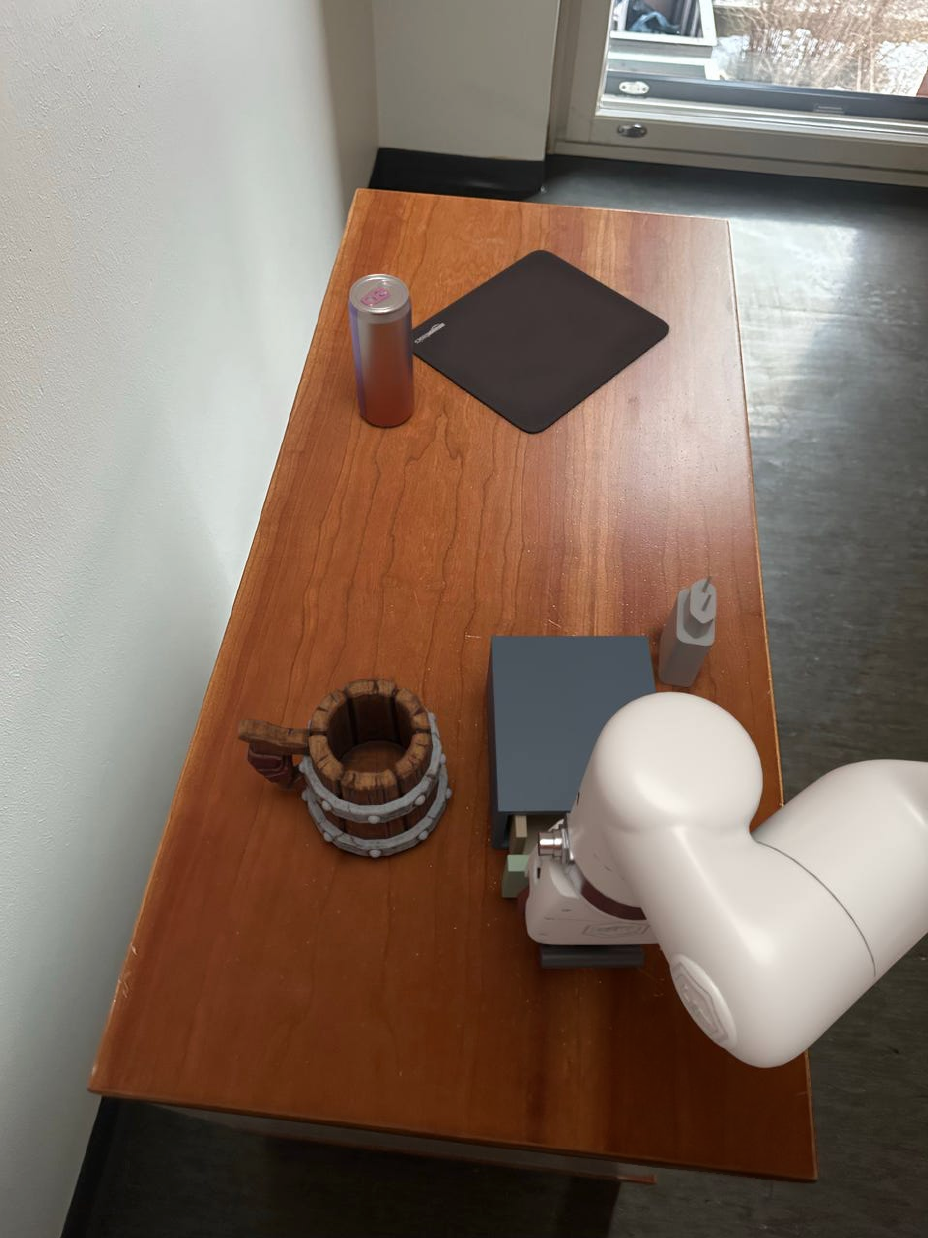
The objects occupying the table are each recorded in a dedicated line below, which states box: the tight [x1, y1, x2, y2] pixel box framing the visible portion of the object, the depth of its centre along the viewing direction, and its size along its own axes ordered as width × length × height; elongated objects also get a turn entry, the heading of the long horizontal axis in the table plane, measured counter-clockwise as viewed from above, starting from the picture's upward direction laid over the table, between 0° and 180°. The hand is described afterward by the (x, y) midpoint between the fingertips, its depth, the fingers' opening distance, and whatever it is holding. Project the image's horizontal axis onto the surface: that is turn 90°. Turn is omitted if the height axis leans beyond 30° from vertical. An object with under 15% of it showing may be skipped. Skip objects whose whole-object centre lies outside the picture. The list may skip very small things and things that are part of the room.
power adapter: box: [657, 573, 717, 688], centre depth 75 cm, size 3×5×12 cm, turn 171°
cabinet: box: [485, 635, 657, 850], centre depth 71 cm, size 15×13×9 cm
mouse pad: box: [412, 249, 670, 434], centre depth 103 cm, size 25×21×1 cm
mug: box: [237, 677, 453, 858], centre depth 67 cm, size 12×14×15 cm
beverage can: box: [347, 273, 415, 428], centre depth 90 cm, size 6×6×15 cm
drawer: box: [500, 814, 645, 970], centre depth 67 cm, size 20×11×7 cm, turn 1°
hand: (584, 927), depth 64 cm, fingers closed
